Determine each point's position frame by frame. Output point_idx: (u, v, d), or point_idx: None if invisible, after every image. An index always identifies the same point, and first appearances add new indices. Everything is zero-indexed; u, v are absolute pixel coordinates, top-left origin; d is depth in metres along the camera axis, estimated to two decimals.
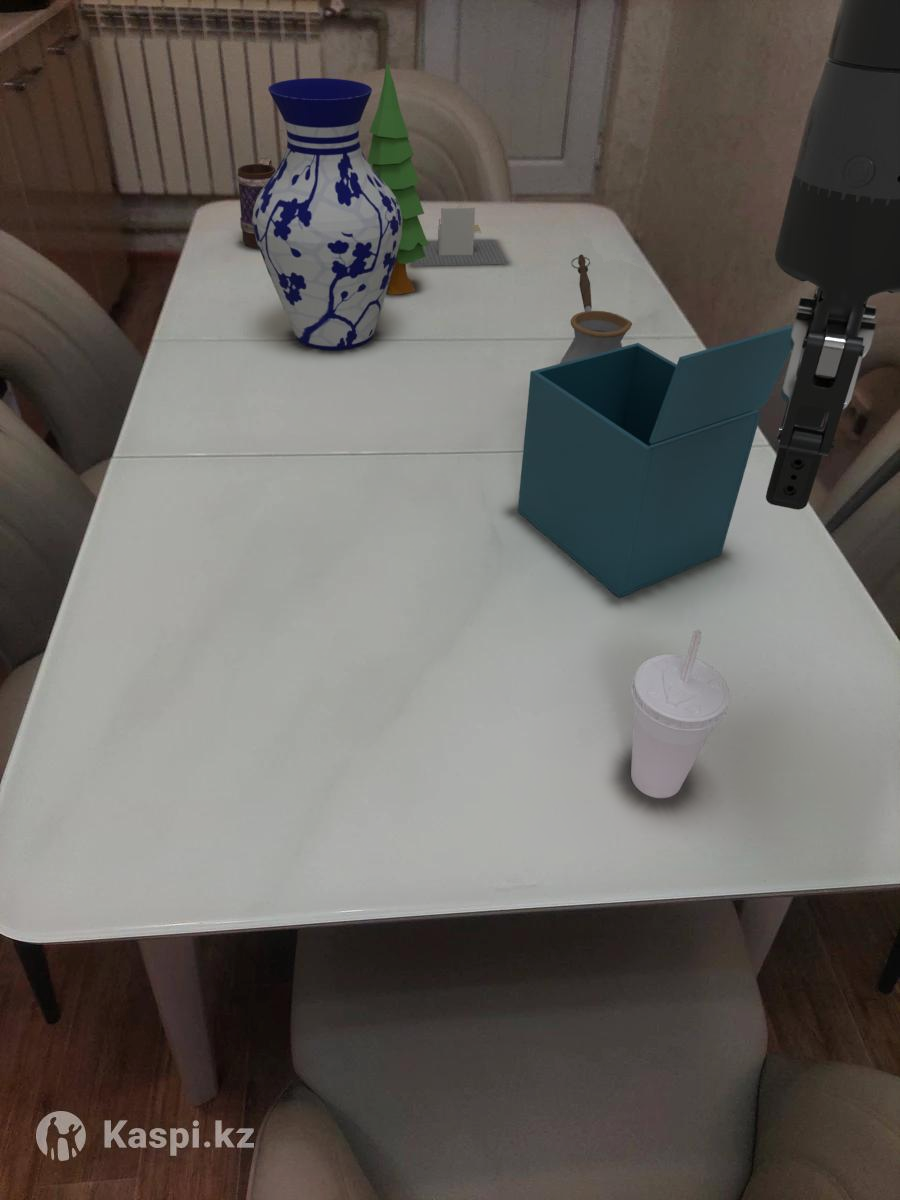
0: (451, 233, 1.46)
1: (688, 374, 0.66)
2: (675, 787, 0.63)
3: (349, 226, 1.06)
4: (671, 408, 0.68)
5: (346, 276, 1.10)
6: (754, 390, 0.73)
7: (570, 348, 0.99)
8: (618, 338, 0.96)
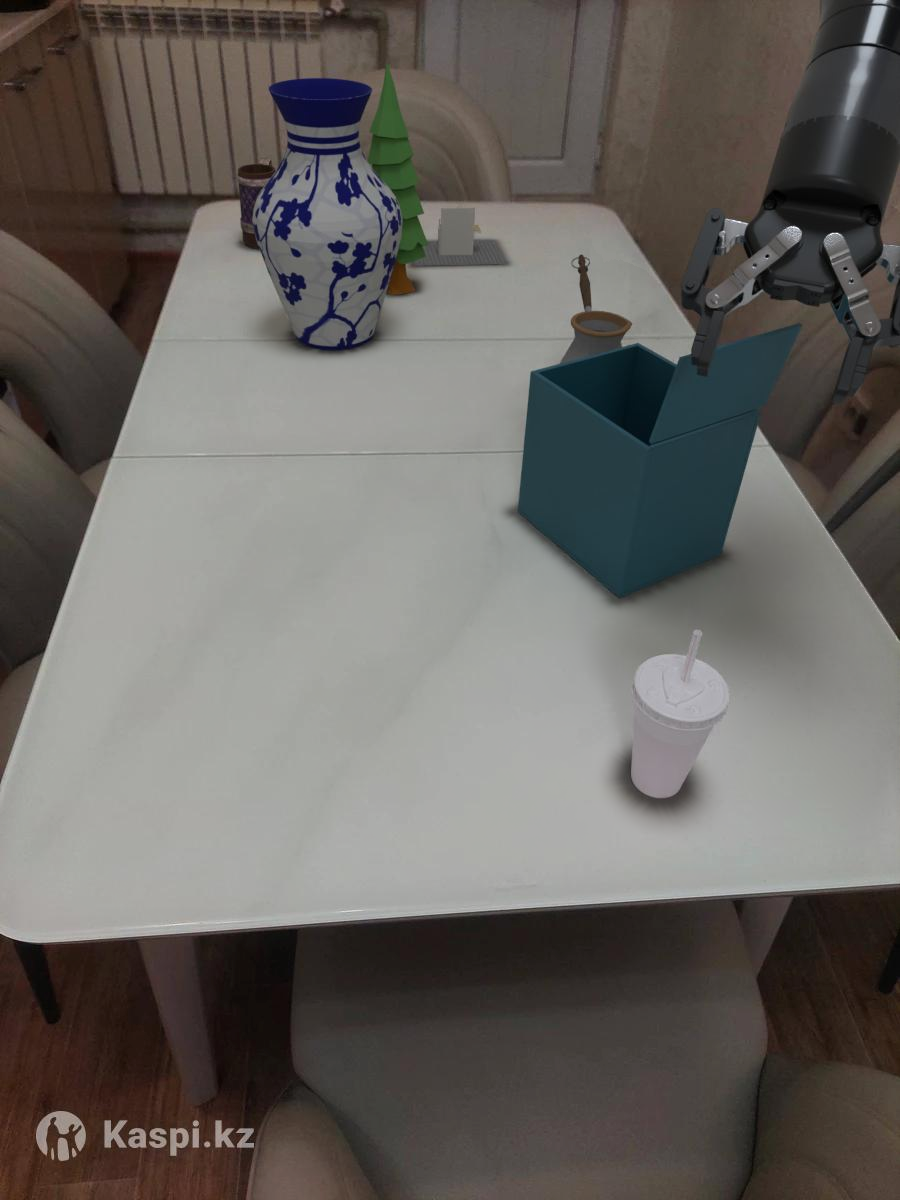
0: (451, 233, 1.46)
1: (688, 374, 0.66)
2: (675, 787, 0.63)
3: (350, 227, 1.06)
4: (671, 408, 0.68)
5: (347, 276, 1.10)
6: (754, 390, 0.73)
7: (570, 348, 0.99)
8: (618, 338, 0.96)
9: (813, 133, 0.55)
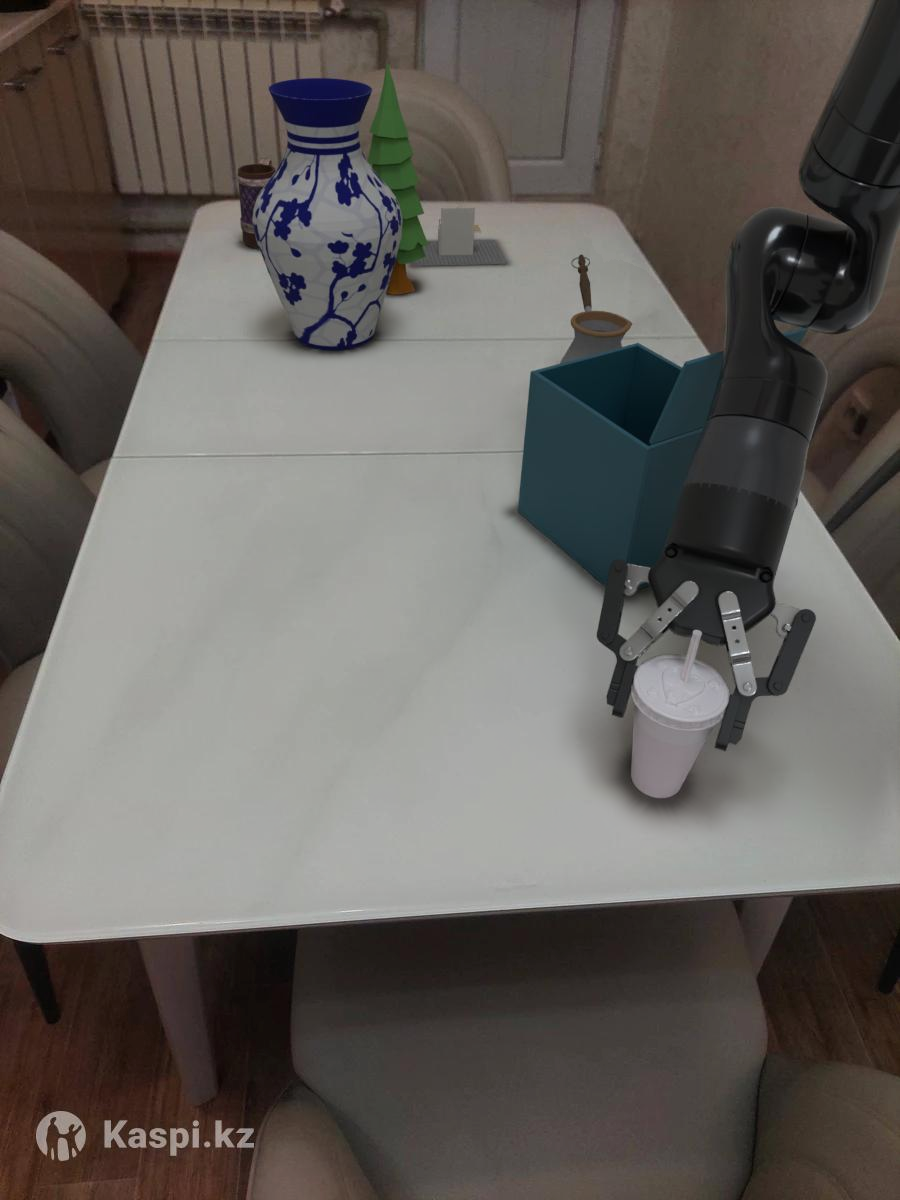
0: (451, 233, 1.46)
1: (692, 378, 0.66)
2: (675, 787, 0.63)
3: (350, 227, 1.06)
4: (673, 410, 0.68)
5: (347, 276, 1.10)
6: None
7: (570, 348, 0.99)
8: (618, 338, 0.96)
9: (707, 499, 0.58)
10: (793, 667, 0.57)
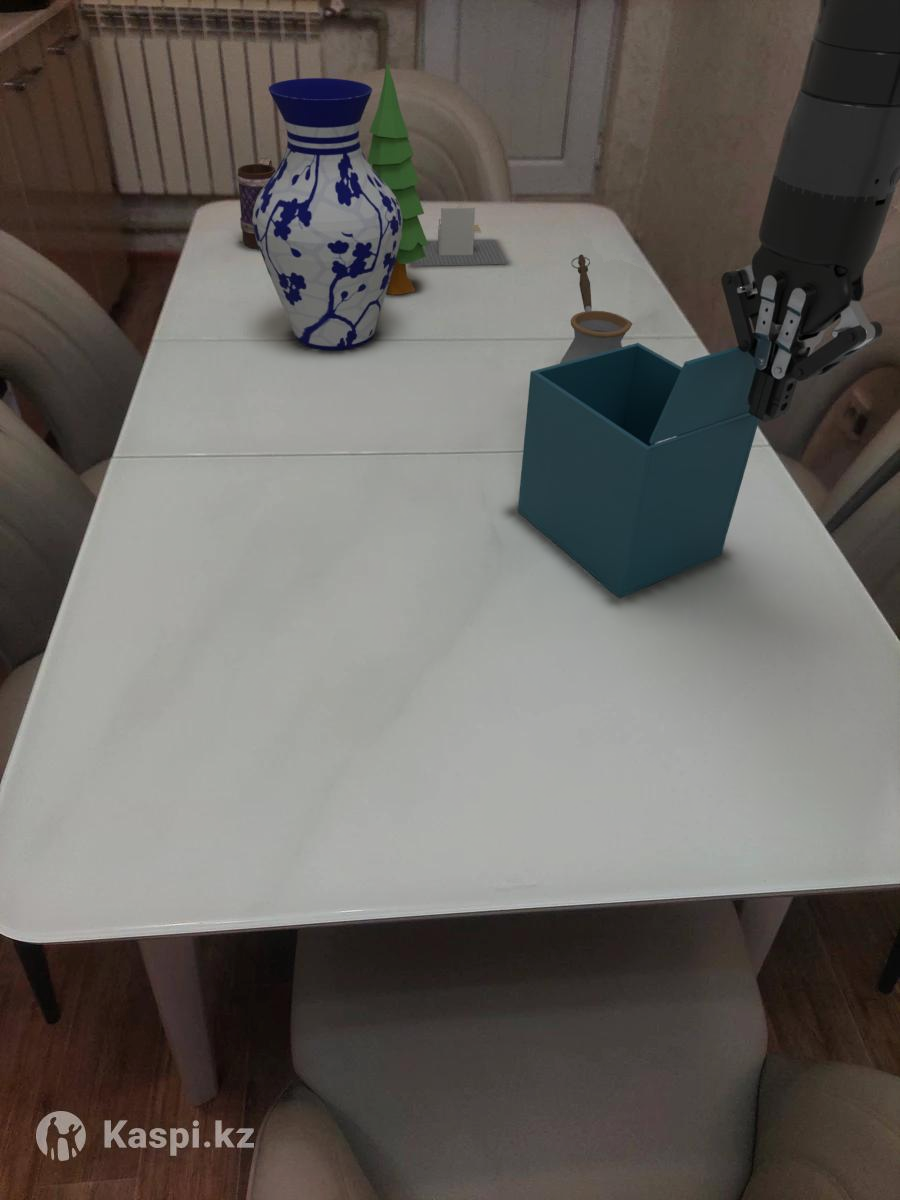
0: (451, 233, 1.46)
1: (692, 378, 0.66)
2: None
3: (350, 227, 1.06)
4: (673, 410, 0.68)
5: (347, 276, 1.10)
6: None
7: (570, 348, 0.99)
8: (618, 338, 0.96)
9: (773, 196, 0.57)
10: (817, 367, 0.61)
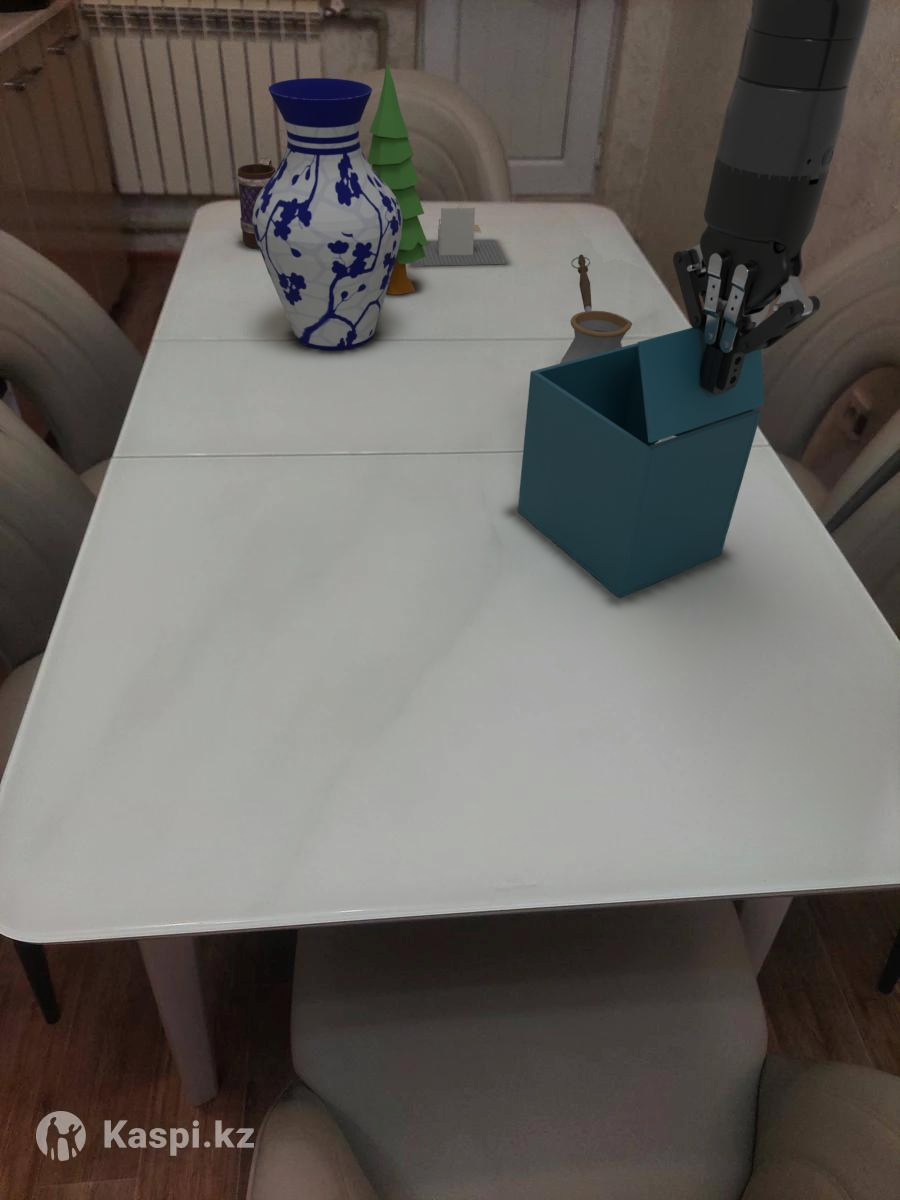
0: (451, 233, 1.46)
1: (655, 360, 0.69)
2: None
3: (350, 227, 1.06)
4: (654, 399, 0.70)
5: (347, 276, 1.10)
6: (742, 385, 0.74)
7: (570, 348, 0.99)
8: (618, 338, 0.96)
9: (715, 176, 0.61)
10: (760, 340, 0.65)
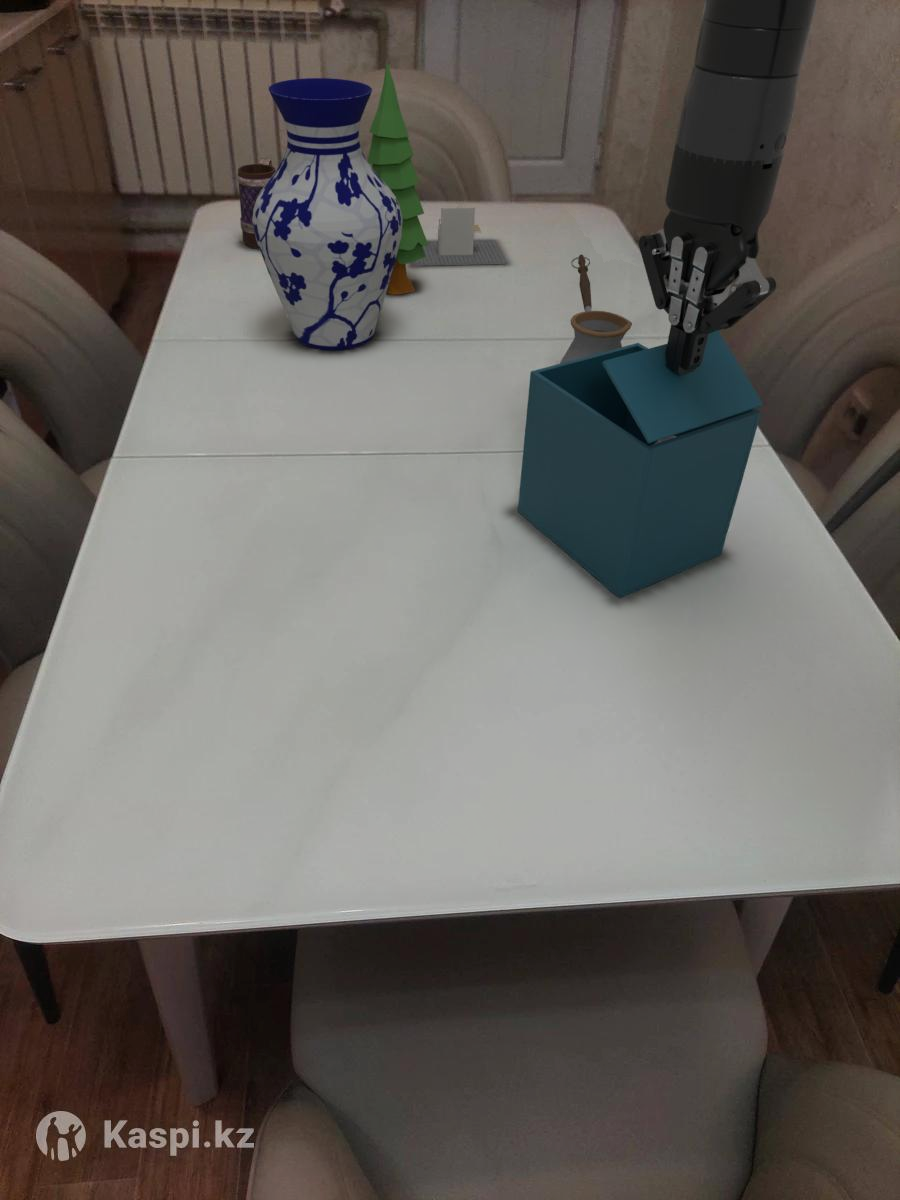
0: (451, 233, 1.46)
1: (625, 373, 0.72)
2: None
3: (350, 227, 1.06)
4: (638, 405, 0.72)
5: (347, 276, 1.10)
6: (730, 388, 0.75)
7: (570, 348, 0.99)
8: (618, 338, 0.96)
9: (674, 162, 0.63)
10: (720, 320, 0.67)
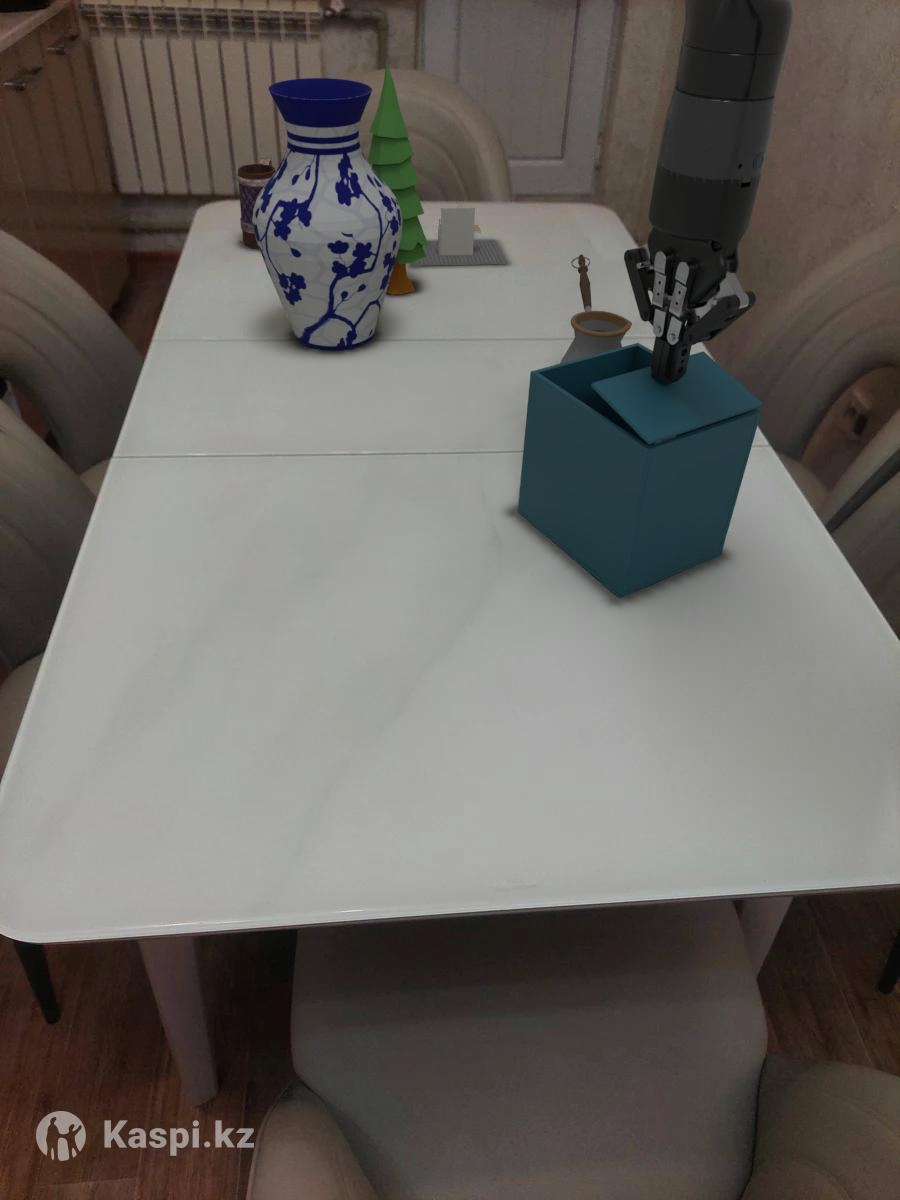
0: (451, 233, 1.46)
1: (615, 391, 0.74)
2: None
3: (350, 227, 1.06)
4: (632, 414, 0.72)
5: (347, 276, 1.10)
6: (725, 394, 0.76)
7: (570, 348, 0.99)
8: (618, 338, 0.96)
9: (656, 180, 0.65)
10: (702, 333, 0.69)
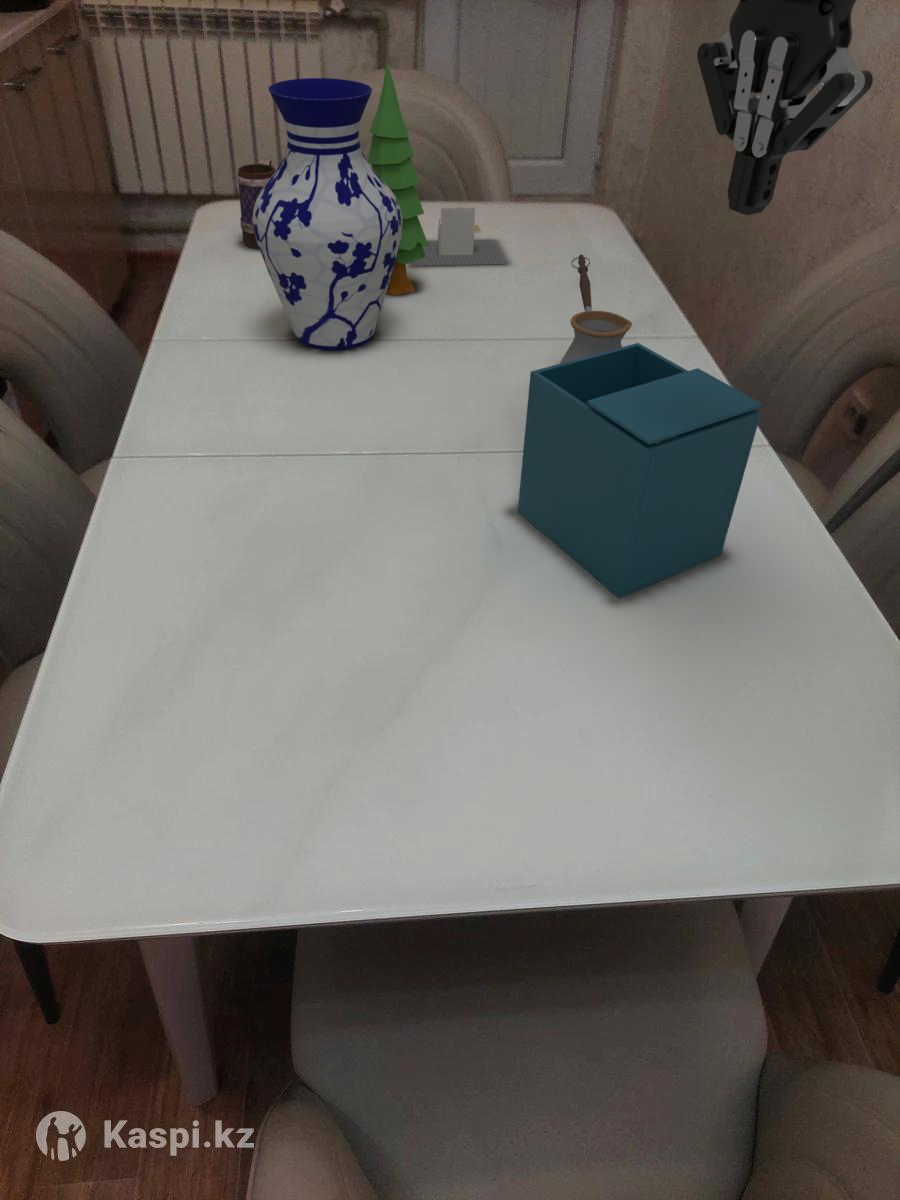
0: (451, 233, 1.46)
1: (611, 404, 0.75)
2: None
3: (350, 227, 1.06)
4: (630, 421, 0.73)
5: (347, 276, 1.10)
6: (723, 399, 0.76)
7: (570, 348, 0.99)
8: (618, 338, 0.96)
9: None
10: (801, 132, 0.55)
